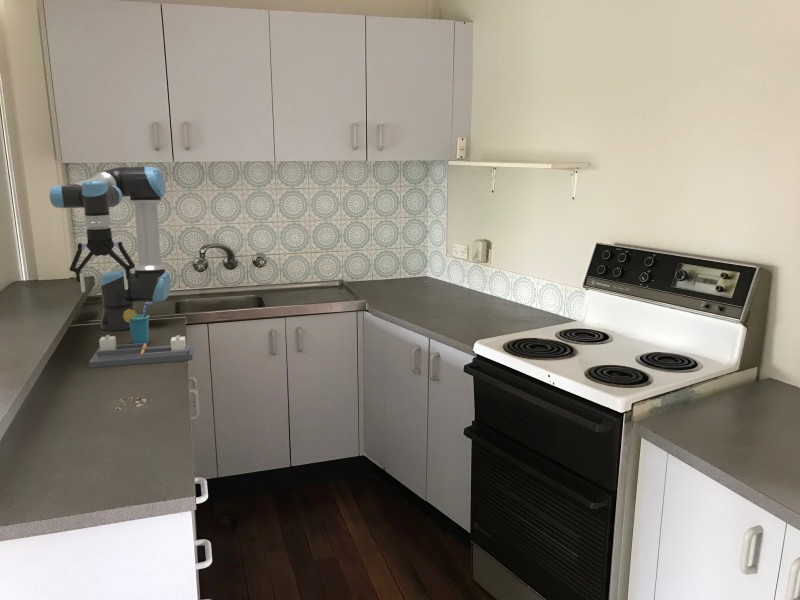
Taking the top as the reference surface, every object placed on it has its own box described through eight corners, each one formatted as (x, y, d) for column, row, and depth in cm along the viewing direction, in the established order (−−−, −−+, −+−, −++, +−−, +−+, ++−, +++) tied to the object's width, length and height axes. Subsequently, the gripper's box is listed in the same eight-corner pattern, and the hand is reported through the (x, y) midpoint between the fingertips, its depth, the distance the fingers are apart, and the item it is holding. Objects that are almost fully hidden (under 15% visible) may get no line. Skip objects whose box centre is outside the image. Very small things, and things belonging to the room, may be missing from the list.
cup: (147, 337, 261) (144, 299, 258) (163, 339, 258) (160, 301, 255) (120, 347, 248) (116, 307, 245) (136, 349, 245) (133, 309, 242)
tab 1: (103, 350, 236) (101, 335, 235) (116, 349, 237) (115, 334, 236) (100, 354, 232) (99, 338, 231) (114, 353, 233) (113, 337, 232)
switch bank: (97, 355, 238) (96, 346, 237) (194, 348, 245) (193, 339, 244) (89, 367, 224) (88, 357, 224) (192, 360, 232) (191, 350, 231)
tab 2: (172, 351, 235) (171, 335, 234) (186, 350, 236) (185, 334, 235) (171, 354, 231) (170, 338, 230) (185, 353, 232) (184, 337, 231)
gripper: (55, 230, 217) (62, 294, 222) (137, 227, 224) (143, 290, 228) (59, 228, 224) (67, 290, 229) (139, 225, 231) (145, 285, 235)
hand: (105, 290), depth 228 cm, fingers open, 13 cm apart
